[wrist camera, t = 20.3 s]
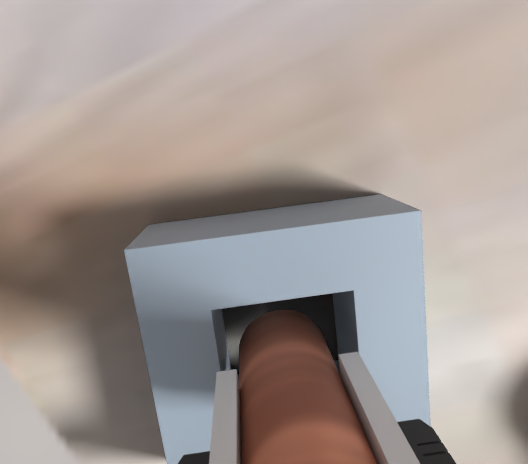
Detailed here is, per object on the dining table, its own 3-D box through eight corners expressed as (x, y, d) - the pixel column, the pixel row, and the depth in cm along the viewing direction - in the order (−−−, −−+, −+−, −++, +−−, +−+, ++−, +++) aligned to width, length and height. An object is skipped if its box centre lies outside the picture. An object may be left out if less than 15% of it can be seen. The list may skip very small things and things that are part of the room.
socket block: (148, 224, 22) (123, 250, 17) (381, 193, 23) (421, 210, 18) (186, 430, 25) (174, 502, 20) (394, 399, 25) (431, 462, 20)
